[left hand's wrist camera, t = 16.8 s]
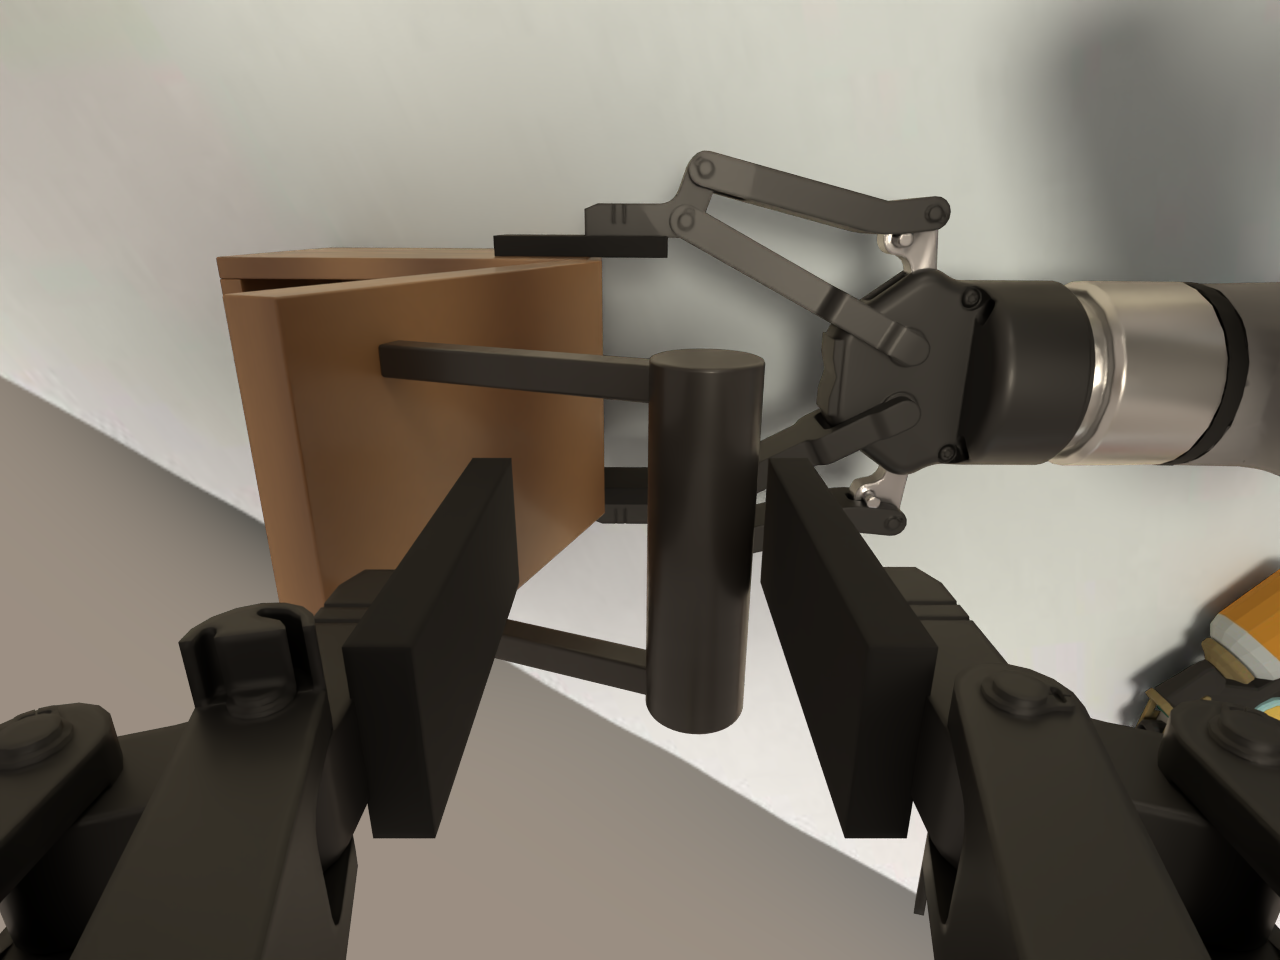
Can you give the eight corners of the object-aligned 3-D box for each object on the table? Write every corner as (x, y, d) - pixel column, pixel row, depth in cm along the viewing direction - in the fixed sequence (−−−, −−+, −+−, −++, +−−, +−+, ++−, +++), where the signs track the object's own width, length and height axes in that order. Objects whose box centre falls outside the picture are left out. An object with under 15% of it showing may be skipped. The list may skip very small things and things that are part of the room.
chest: (354, 433, 38) (260, 502, 28) (329, 247, 35) (214, 256, 25) (603, 434, 38) (591, 504, 28) (601, 249, 35) (587, 259, 25)
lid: (301, 726, 16) (702, 852, 13) (220, 294, 13) (726, 321, 10) (575, 508, 28) (815, 546, 25) (569, 259, 25) (843, 266, 22)
